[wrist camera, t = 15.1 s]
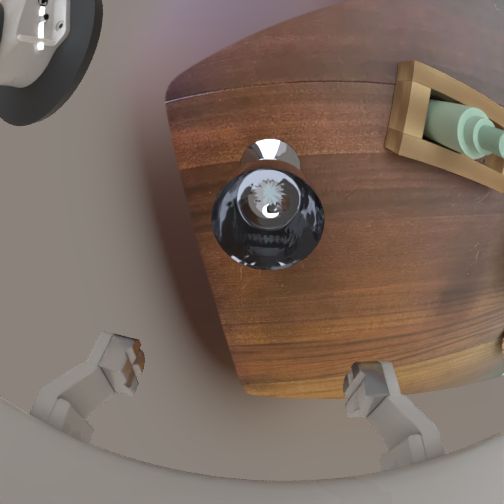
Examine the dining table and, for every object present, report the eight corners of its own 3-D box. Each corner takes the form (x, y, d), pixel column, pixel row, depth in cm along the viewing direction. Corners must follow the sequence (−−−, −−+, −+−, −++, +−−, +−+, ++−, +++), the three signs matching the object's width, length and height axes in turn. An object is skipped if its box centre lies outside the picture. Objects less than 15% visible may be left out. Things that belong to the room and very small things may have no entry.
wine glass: (315, 153, 31) (345, 200, 18) (285, 209, 35) (291, 284, 22) (253, 124, 30) (237, 148, 17) (226, 183, 34) (196, 245, 21)
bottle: (415, 93, 25) (494, 105, 13) (447, 107, 25) (527, 129, 13) (408, 131, 28) (482, 164, 15) (440, 143, 28) (515, 182, 15)
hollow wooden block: (398, 62, 23) (414, 60, 20) (504, 117, 23) (523, 123, 20) (383, 146, 29) (398, 154, 26) (488, 183, 29) (506, 195, 25)
